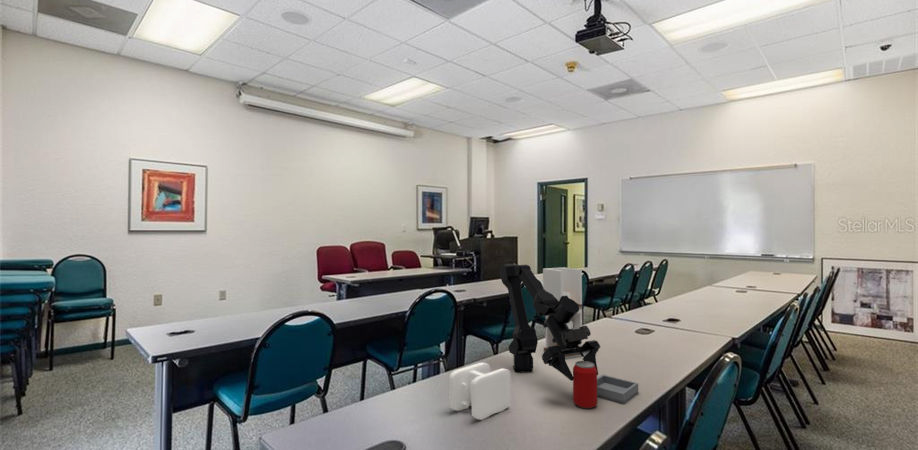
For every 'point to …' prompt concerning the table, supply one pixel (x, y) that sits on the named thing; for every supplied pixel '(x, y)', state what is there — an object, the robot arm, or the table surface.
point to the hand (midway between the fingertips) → (585, 377)
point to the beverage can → (585, 384)
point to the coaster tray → (616, 389)
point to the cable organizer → (479, 390)
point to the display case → (564, 285)
